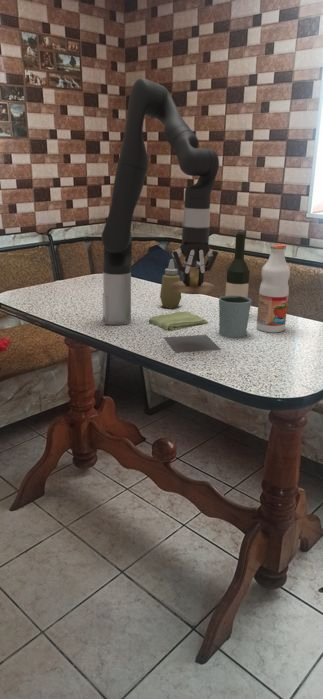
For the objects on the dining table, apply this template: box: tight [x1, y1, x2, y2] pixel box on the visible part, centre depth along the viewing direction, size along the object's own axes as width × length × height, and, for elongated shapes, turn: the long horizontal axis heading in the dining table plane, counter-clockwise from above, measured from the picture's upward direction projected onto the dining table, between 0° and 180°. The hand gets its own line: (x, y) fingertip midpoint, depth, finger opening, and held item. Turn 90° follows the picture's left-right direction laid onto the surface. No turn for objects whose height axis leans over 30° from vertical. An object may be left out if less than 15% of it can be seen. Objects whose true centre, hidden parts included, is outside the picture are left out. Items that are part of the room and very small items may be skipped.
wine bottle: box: [224, 230, 250, 298], centre depth 185 cm, size 8×8×30 cm
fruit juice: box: [256, 243, 291, 334], centre depth 171 cm, size 9×9×28 cm
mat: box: [163, 334, 222, 354], centre depth 159 cm, size 14×14×1 cm
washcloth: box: [148, 310, 209, 332], centre depth 179 cm, size 13×18×3 cm
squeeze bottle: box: [159, 258, 182, 309], centre depth 197 cm, size 8×8×18 cm
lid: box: [170, 266, 216, 295], centre depth 152 cm, size 13×13×6 cm
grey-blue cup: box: [218, 295, 252, 339], centre depth 167 cm, size 10×10×12 cm
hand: (192, 285), depth 152 cm, fingers closed on lid, 3 cm apart
